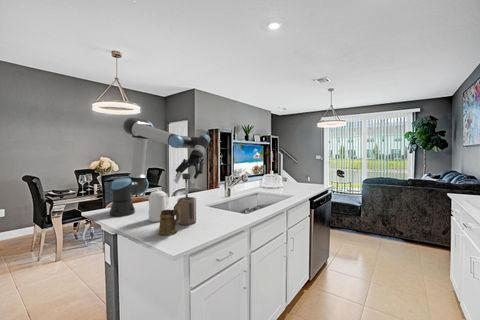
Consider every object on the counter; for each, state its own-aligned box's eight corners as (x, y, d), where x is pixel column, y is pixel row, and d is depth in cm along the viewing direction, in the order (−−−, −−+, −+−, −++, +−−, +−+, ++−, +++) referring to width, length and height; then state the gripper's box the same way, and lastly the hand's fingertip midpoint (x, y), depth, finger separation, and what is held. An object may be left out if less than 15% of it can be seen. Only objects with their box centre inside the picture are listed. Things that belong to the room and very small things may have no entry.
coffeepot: (136, 225, 130) (135, 192, 129) (160, 213, 155) (159, 185, 154) (154, 227, 128) (153, 193, 127) (175, 214, 152) (175, 186, 152)
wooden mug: (178, 237, 112) (177, 200, 111) (154, 235, 116) (153, 199, 115) (187, 231, 120) (187, 196, 119) (165, 229, 124) (164, 195, 123)
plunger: (179, 205, 135) (179, 173, 134) (189, 203, 139) (188, 172, 138) (184, 207, 130) (183, 174, 130) (194, 205, 134) (193, 173, 133)
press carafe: (175, 222, 136) (174, 198, 135) (191, 219, 142) (190, 196, 141) (184, 227, 126) (184, 201, 126) (201, 223, 133) (200, 199, 132)
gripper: (179, 149, 147) (163, 177, 133) (211, 149, 139) (198, 178, 125) (184, 157, 152) (169, 185, 138) (215, 157, 144) (203, 187, 130)
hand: (183, 182), depth 131 cm, fingers open, 10 cm apart
